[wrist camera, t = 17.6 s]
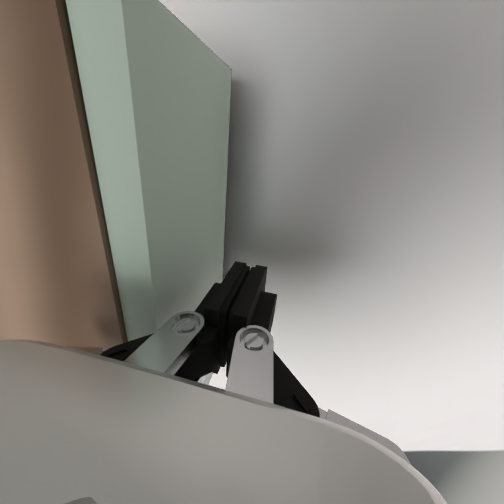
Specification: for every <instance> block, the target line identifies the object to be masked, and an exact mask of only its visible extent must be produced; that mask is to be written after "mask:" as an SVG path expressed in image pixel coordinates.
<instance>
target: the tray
mask: <svg viewBox="0 0 504 504" xmlns="http://www.w3.org/2000/svg"><path fill="white" fill-rule="evenodd" d="M66 5H67V11H68V16H69V22H70V27H71V33H72V38H73V44H74V49H75V54H76V60H77V65H78V71H79V76H80V82H81V87H82V93H83V98H84V104H85V109H86V115H87V120H88V126H89V131H90V137H91V142H92V148H93V153H94V158H95V164H96V169H97V175H98V180H99V186H100V191H101V197H102V202H103V208H104V213H105V219H106V224H107V230H108V235H109V241H110V246H111V252H112V257H113V262H114V268H115V273H116V279H117V284H118V290H119V295H120V301H121V306H122V312H123V317H124V323H125V328H126V334H127V339H128V341H131V340H134V339H137V338H141V337H144V336H147V335H150V334H153V333H155V332H156V331H157V330H158V329H159V328H160V327H161V326H162V325H163V324H165V323H166V322H167V321H168V320H169V319H170V318H171V317H172V316H174V315H175V314H177V313H180V312H184V311H195V310H196V308H197V307H198V306H199V304H200V303H201V301H202V300H203V299H204V297H205V296H206V294H207V293H208V291H209V290H210V289H211V287H212V286H213V284H214V283H216V282H217V283H222V280H223V257H224V234H225V211H226V188H227V165H228V142H229V119H230V96H231V73H232V69H231V68H230V67H229V66H228V65H226V64H225V63H224V62H223V61H222V60H221V59H220V58H219V57H218V56H217V55H216V54H215V53H214V52H213V51H212V50H211V49H209V48H208V47H207V46H206V45H205V44H204V43H203V42H202V41H201V40H200V39H199V38H198V37H197V36H196V35H195V34H194V33H193V32H191V31H190V30H189V29H188V28H187V27H186V26H185V25H184V24H183V23H182V22H181V21H180V20H179V19H178V18H177V17H176V16H174V15H173V14H172V13H171V12H170V11H169V10H168V9H167V8H166V7H165V6H164V5H163V4H162V3H161V2H160V1H159V0H66ZM212 374H213V373H212V372H211V373H209V374H207V375H205V380H204V382H203V384H206V385H208V384H209V381H210V379H211V377H212Z"/></svg>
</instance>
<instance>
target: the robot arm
mask: <svg viewBox="0 0 504 504" xmlns="http://www.w3.org/2000/svg"><path fill="white" fill-rule="evenodd" d="M266 274H267V267H265V266H259V265H256V267H252V268H251V270H250V267H249V266H247V265H246V263H242V262H237V261H236V262H235V263H234V264H233V266H232V267H231V269H230V270H229V272H228V273H227V275H226V277H225V278H224V280H223V281H222V283H217V282H216V283H214V284H213V286H212V287H211V289H210V290H209V291H208V293H207V294H206V296H205V297H204V299H203V300H202V301H201V303H200V304H199V306H198V307H197V308H196V310H195V311H184V312H180V313H177V314H175V315H174V316H172V317H171V318H170V319H169V320H168V321H167V322H166V323H165V324H163V325H162V326H161V327H160V328H159V329H158V330H157V331H156V332H155V333H153V334H150V335H147V336H144V337H141V338H137V339H134V340H131V341H128V342H125V343H122V344H119V345H116V346H113V347H111V348H109V349H107V350H106V351H105V350H104V348H98V347H75V346H62V345H57V344H52V343H47V342H42V341H34V340H21V339H8V340H0V504H447V503H446V501H445V500H444V498H443V497H442V496H441V494H440V493H439V492H438V491H437V490H436V488H435V487H434V486H433V485H432V484H431V483H430V482H429V481H428V480H427V479H426V478H425V477H424V476H423V475H422V474H420V473H419V472H418V471H417V470H416V469H415V468H413V467H412V466H411V464H410V462H409V460H408V459H407V457H406V455H405V453H404V452H403V451H402V450H401V449H400V448H399V447H398V446H397V445H396V444H395V443H393V442H392V441H390V440H389V439H387V438H385V437H383V436H381V435H379V434H377V433H375V432H373V431H371V430H369V429H367V428H365V427H363V426H361V425H359V424H357V423H355V422H353V421H351V420H349V419H347V418H345V417H343V416H341V415H339V414H337V413H335V412H333V411H331V410H329V409H328V412H326V411H324V410H322V409H320V408H318V406H317V404H316V403H315V401H314V400H313V398H312V397H311V396H310V395H309V393H308V392H307V391H306V390H305V388H304V387H303V386H302V385H301V384H300V382H299V381H298V380H297V379H296V378H295V376H294V375H293V374H292V373H291V372H290V370H289V369H288V368H287V367H286V365H285V364H284V363H283V362H282V361H281V359H280V358H279V357H278V356H277V355H276V353H275V352H274V351H273V337H272V335H271V333H270V331H271V327H272V322H273V317H274V312H275V305H276V298H277V294H273V293H268V292H265V283H266ZM226 362H227V367H226V376H227V378H228V379H227V384H226V389H225V390H223V389H220V388H216V387H213V386H209V385H206V384H203V382H204V380H205V375H207V374H209V373H211V372H212V373H216V374H218V371H219V369H220V366H221V367H225V365H226Z"/></svg>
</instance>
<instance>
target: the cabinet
mask: <svg viewBox="0 0 504 504" xmlns="http://www.w3.org/2000/svg"><path fill="white" fill-rule="evenodd" d="M8 339H21V340H34V341H42V342H47V343H52V344H57V345H62V346H75V347H98V348H104V350H105V351H106V350H107V349H109V348H111V347H113V346H116V345H119V344H122V343H125V342H128V339H127V334H126V328H125V323H124V317H123V312H122V306H121V301H120V295H119V290H118V284H117V279H116V273H115V268H114V262H113V257H112V252H111V246H110V241H109V235H108V230H107V224H106V219H105V213H104V208H103V202H102V197H101V191H100V186H99V180H98V175H97V169H96V164H95V158H94V153H93V148H92V142H91V137H90V131H89V126H88V120H87V115H86V109H85V104H84V98H83V93H82V87H81V82H80V76H79V71H78V65H77V60H76V54H75V49H74V44H73V38H72V33H71V27H70V22H69V16H68V11H67V5H66V0H0V340H8Z"/></svg>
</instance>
